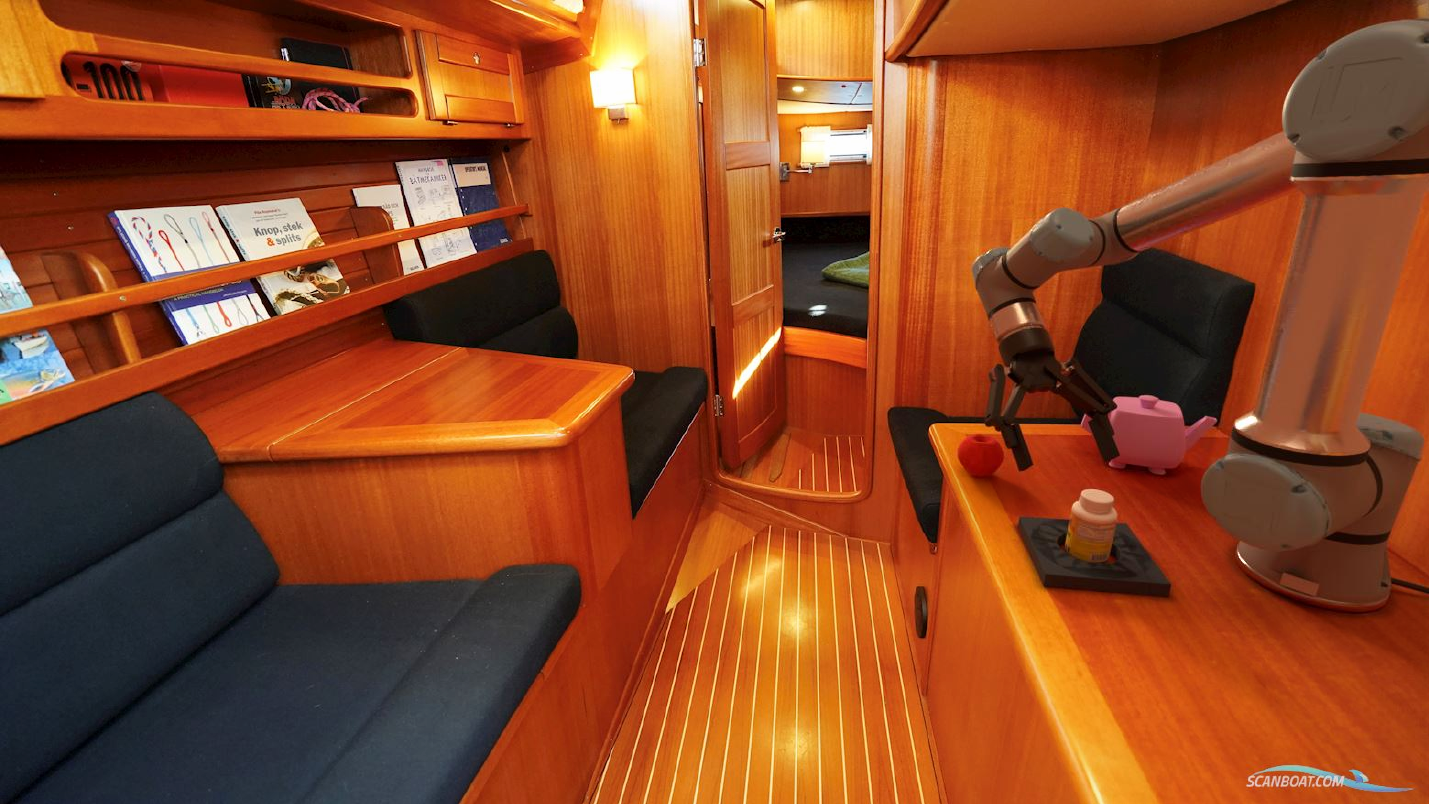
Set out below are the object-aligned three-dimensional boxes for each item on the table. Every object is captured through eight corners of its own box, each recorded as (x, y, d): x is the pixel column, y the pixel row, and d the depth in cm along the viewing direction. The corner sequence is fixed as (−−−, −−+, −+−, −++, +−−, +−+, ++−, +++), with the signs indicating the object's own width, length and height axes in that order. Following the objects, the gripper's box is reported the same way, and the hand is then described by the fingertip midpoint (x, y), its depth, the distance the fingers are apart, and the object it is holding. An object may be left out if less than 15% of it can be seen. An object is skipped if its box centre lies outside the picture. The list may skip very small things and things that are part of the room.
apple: (949, 464, 120) (952, 428, 118) (991, 463, 120) (996, 427, 117) (962, 484, 113) (966, 446, 110) (1008, 483, 113) (1013, 445, 110)
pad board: (1124, 534, 96) (1126, 522, 96) (1168, 597, 83) (1172, 584, 82) (1017, 527, 100) (1019, 516, 99) (1043, 586, 86) (1045, 574, 85)
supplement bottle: (1071, 542, 95) (1083, 481, 91) (1113, 557, 91) (1127, 494, 88) (1057, 558, 91) (1068, 495, 88) (1099, 575, 88) (1113, 510, 84)
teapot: (1076, 465, 118) (1087, 401, 113) (1076, 440, 128) (1086, 380, 124) (1209, 486, 109) (1227, 417, 104) (1198, 457, 119) (1214, 393, 115)
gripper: (1079, 343, 106) (1129, 463, 98) (938, 355, 103) (977, 480, 95) (1108, 319, 100) (1164, 445, 91) (958, 331, 97) (1002, 463, 88)
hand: (1069, 463), depth 93 cm, fingers open, 13 cm apart
